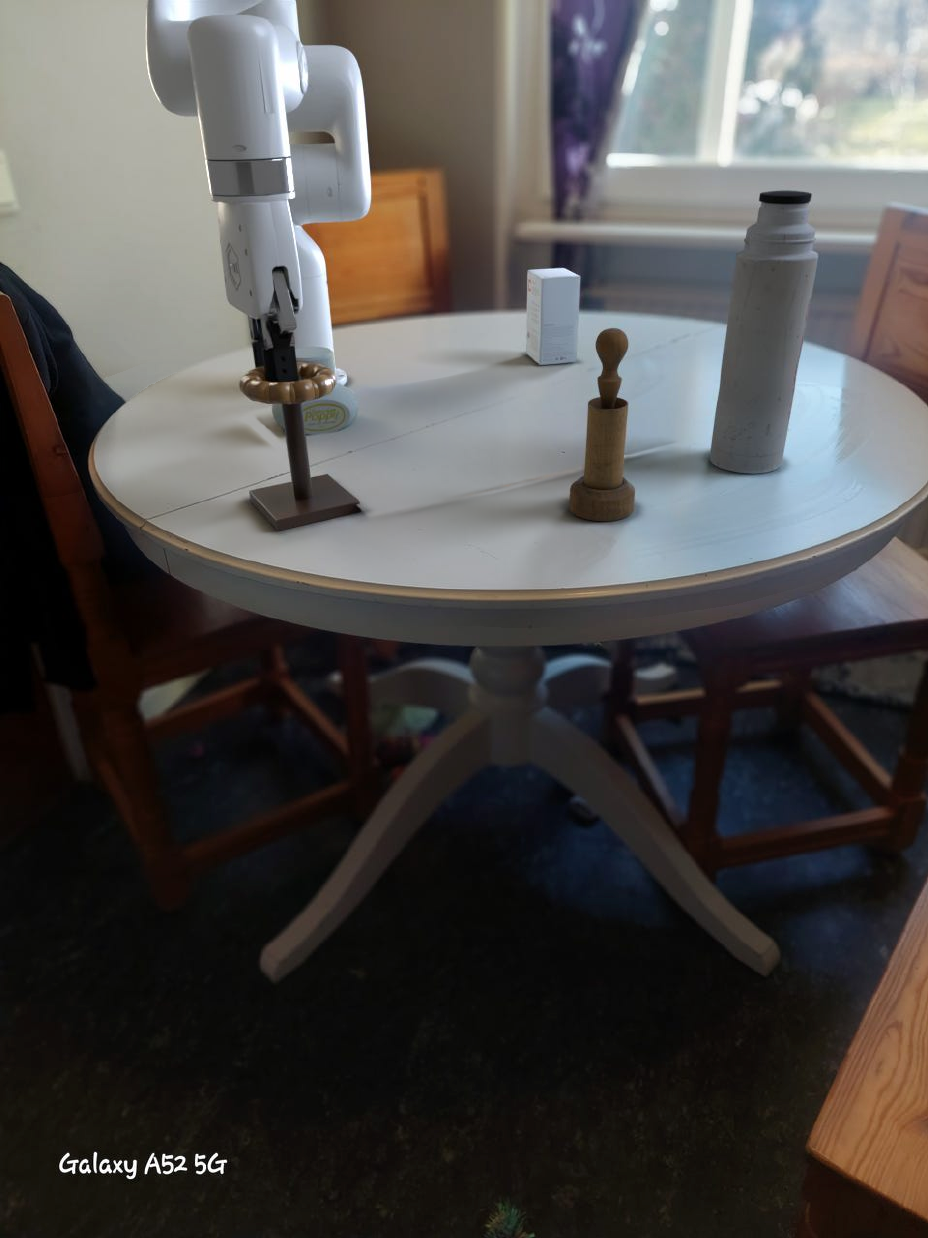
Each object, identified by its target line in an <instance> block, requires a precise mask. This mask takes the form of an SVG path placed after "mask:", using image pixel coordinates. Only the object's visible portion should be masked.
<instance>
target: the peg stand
mask: <svg viewBox="0 0 928 1238" xmlns="http://www.w3.org/2000/svg"><path fill="white" fill-rule="evenodd" d="M281 405H282V412H283V420H284V427H285V429H284V435H285V441H286V442H285V443H286V450H287V458H288V464H289V472H290V479H291V481H288V482H287V481H286V482H283V483H279V484H274V485H269V486H264V487H260V488H255V489H250V490H248V493H249V500H250V502H251V503H252V504H253V505H254V506H255V508H256V509H257V510H258V511H259V512H260V513H261V514H262V516H263V517H265V519H266V520H267V521H268V522H269V523H270V524H271V526H273V527H274V529H275V530H276V531H277V532H280V531H284V530H288V529H293V528H297V527H301V526H302V527H303V526H307V525H309V524H315V523H318V522H323V521H327V520H330V519H335V518H339V517H344V516H348V515H352V514H356V513H357V514H358V513H360V512H361V508H360V507H359V506H358V505H359V504H360V503H361V501H360V500H359V499H358V498H356V496H354V495H353V494H352V493H350V491H348V490H347V489H346V488H344V486H342V485H341V484H340V483H339V482H338V481H336V480H335V479H334V478H333V477H332V476H330V474H328V473H324V474H319V475H316V476H315V475H314V476H311V467H310V459H309V451H308V441H307V435H306V433H305V425H304V416H303V408H302V403H296V404H281Z"/></svg>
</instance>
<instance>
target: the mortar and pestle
mask: <svg viewBox="0 0 928 1238" xmlns="http://www.w3.org/2000/svg"><path fill="white" fill-rule="evenodd" d="M628 349H629V338H628V336H627V334H626V332H625V331H623V330H622V329H621V328H618V327H610V328H609V327H608V328H605V329H604V330H601V332H600V333H599V334H597V337H596V340H595V351H596V353H597V356H598V358H599V360H600V363H601V364H602V370H601V373H600V375H598V376H597V388H598V392H599V396H597V397H594V398H591V399H590V400H588V401H587V413H586V414H587V415H586V416H587V418H586V437H585V454H584V467H583V475H582V476H580V477H579V478H578V479H577V480H575V481H574V482H573V483H572V484H571V485H570V488H569V499H568V509H569V511H570V512H571V513H572V514H573V515H575V516H576V517H578V518H581V519H583V520H587V521H593V522H612V521H613V522H614V521H619V520H623V519H626V518H628V517H630V516H631V515H632V514H633V512H634V509H635V501H636V500H635V498H636V488H635V486H634V485H633V484H632V482H629V480H628V479H627V478H626V477H624V467H625V466H624V465H625V454H626V453H625V450H626V440H627V439H626V438H627V426H628V417H629V416H628V415H629V401H627V400H626V399H624V398H621V397H618V395H619V391H620V389H621V385H622V381H623V378H622V377H621V376H620V375H619V371H618V370H619V366H620V364H621V362H622V361H623V359H624V358H625V356H626V354H627V352H628Z"/></svg>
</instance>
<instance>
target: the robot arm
mask: <svg viewBox="0 0 928 1238" xmlns="http://www.w3.org/2000/svg"><path fill="white" fill-rule="evenodd" d="M145 3H146V5H145V56H146V66H147V73H148V77H149V81H150V82H149V83H150V84H151V88H152V90H153V92H154V94H155V96H156V98H157V100H158V101H159V103H160V104H161V105H162V106H163V107H164V109H166V110H167V111H168V112H170V113H171V114H174V115H176V116H179V117H184V118H185V117H191V118H193V117H194V118H195V117H196V118H197V117H198V122H199V128H200V129H199V130H200V134H201V140H202V148H203V153H204V154H203V155H204V159H205V166H206V173H207V179H208V180H207V181H208V186H209V187H208V188H209V193H210V199H211V201H212V202H214V203H217V217H218V231H219V241H220V251H221V260H222V261H221V262H222V268H223V269H222V270H223V277H224V287H225V294H226V295H225V296H226V299H227V301H228V304H230V305H231V307H234V308H235V309H236V310H237V311H240V312H241V313H243V314H245V315H246V316H247V320H248V328H249V334H250V335H249V336H250V338H251V341H252V342H251V349H252V354H253V361H254V369H255V368H258V367H261V366H264V371H265V378H266V382H294V381H299V378H298V370H297V362H296V353H295V349H298V348H305V347H323V348H328V349H330V350H331V351H332V352H333V354H334V355H335V350H334V338H333V337H334V336H333V328H332V316H331V308H330V299H329V298H330V297H329V296H330V295H329V287H328V277H327V266H326V259H325V256H324V254H323V251H322V250H321V248H320V246H319V245H318V244H317V243H316V241H315V240H314V239H313V238H312V237H311V236H310V234H308V233H307V232H306V231H305V229H304V228H303V225H311V224H317V223H318V224H319V223H320V224H322V223H323V224H325V223H343V222H344V223H345V222H355V221H359V220H362V219H363V218H365V217H366V216H367V215H368V213H369V211H370V210H371V209H370V207H371V204H372V180H371V179H372V178H371V167H370V155H369V142H368V128H367V116H366V115H367V114H366V106H365V105H366V103H365V95H364V87H363V85H364V84H363V79H362V74H361V69H360V67H359V64H358V61H357V59H356V57H355V56H354V54H353V53H352V52H351V50H349V49H348V48H345V47H343V46H340V45H334V44H317V45H316V44H313V45H312V44H311V45H310V44H309V45H306V44H305V45H304V44H303V43H302V42H301V38H300V29H299V20H298V8H297V1H296V0H146V2H145ZM310 132H311V133H313V132H316V133H318V132H324V133H327V134H329V135H330V136H331V137H332V138H333V140H334V142H333V143H331V142H330V143H290V138H289V136H290V135H289V133H310ZM334 363H335V364H336V359H335V357H334ZM335 373H336V376H337V382H338V383H340V384H342V385H344V386H345V385H346V384H347V382H348V377H347V376H348V375H347V372H346V371H345V370H344V369H341V368H338V367H335Z"/></svg>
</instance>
